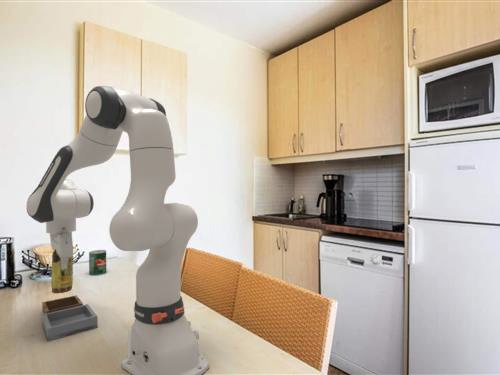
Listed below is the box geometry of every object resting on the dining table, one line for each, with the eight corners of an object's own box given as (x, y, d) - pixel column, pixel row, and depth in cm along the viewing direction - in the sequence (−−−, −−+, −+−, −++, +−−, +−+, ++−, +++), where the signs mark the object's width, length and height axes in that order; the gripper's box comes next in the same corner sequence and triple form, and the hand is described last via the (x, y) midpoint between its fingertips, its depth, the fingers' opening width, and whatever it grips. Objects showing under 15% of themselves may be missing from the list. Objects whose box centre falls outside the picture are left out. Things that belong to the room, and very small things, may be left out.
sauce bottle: (62, 294, 103) (61, 235, 103) (47, 293, 104) (45, 235, 104) (77, 288, 110) (76, 232, 109) (62, 287, 111) (61, 232, 111)
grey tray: (97, 327, 96) (97, 316, 96) (47, 341, 88) (47, 328, 88) (87, 314, 106) (87, 304, 106) (42, 325, 98) (42, 314, 98)
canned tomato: (101, 275, 152) (101, 253, 152) (85, 275, 152) (85, 253, 152) (109, 271, 160) (109, 249, 160) (94, 271, 160) (94, 249, 160)
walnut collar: (82, 313, 107) (82, 303, 106) (46, 322, 100) (46, 311, 100) (76, 304, 115) (76, 295, 115) (42, 312, 108) (42, 302, 108)
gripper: (77, 228, 101) (78, 271, 101) (66, 223, 117) (67, 260, 117) (55, 230, 97) (56, 274, 97) (46, 225, 113) (47, 262, 113)
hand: (62, 266), depth 107 cm, fingers closed on sauce bottle, 6 cm apart
